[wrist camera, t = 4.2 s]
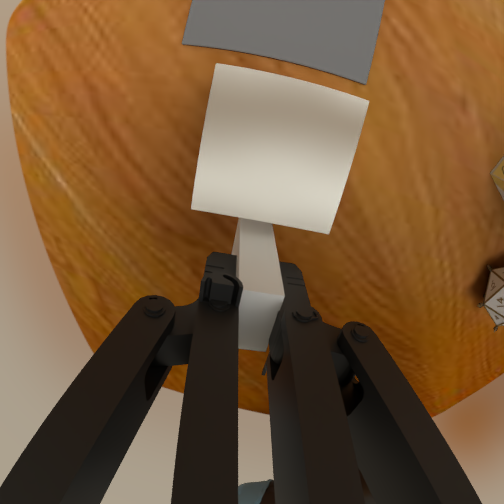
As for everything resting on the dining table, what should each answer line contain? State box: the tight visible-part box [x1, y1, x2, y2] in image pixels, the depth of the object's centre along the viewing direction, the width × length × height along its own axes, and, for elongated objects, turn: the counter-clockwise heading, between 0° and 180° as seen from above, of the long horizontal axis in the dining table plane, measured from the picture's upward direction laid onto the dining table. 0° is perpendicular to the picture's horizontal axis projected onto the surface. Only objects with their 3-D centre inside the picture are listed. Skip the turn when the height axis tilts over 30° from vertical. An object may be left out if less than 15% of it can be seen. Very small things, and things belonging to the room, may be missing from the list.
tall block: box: [191, 63, 369, 234], centre depth 17 cm, size 6×6×12 cm
